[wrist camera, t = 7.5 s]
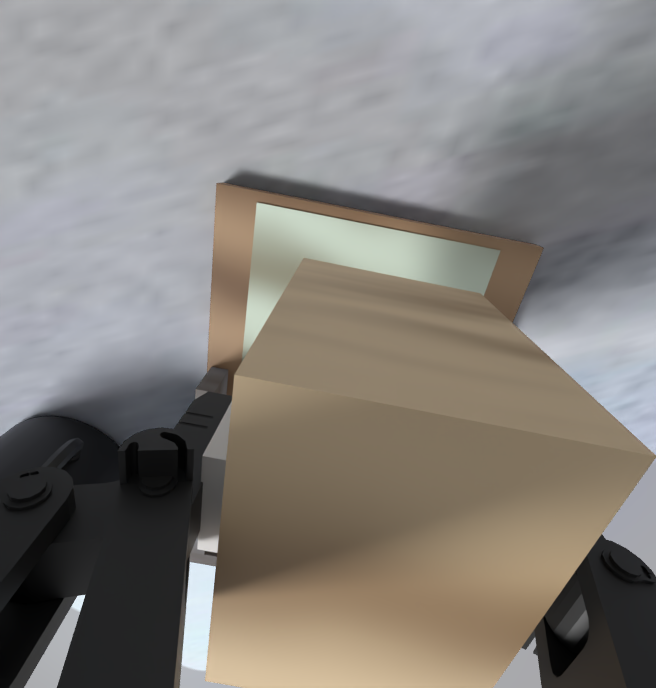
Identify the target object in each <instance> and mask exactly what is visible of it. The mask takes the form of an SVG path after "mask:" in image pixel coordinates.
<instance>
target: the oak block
mask: <svg viewBox="0 0 656 688" xmlns="http://www.w3.org/2000/svg"><path fill="white" fill-rule="evenodd" d="M655 458H656V455H655V454H654V453H653V452H651V451H650V450H649V449H648V448H647V447H646V446H645V445H644V444H643V443H642V442H641V441H640V440H638V439H637V438H636V437H635V436H634V435H633V434H632V433H631V432H630V431H629V430H628V429H627V428H626V427H624V426H623V425H622V424H621V423H620V422H619V421H618V420H617V419H616V418H615V417H614V416H613V415H611V414H610V413H609V412H608V411H607V410H606V409H605V408H604V407H603V406H602V405H601V404H600V403H598V402H597V401H596V400H595V399H594V398H593V397H592V396H591V395H590V394H589V393H588V392H587V391H586V390H584V389H583V388H582V387H581V386H580V385H579V384H578V383H577V382H576V381H575V380H574V379H573V378H571V377H570V376H569V375H568V374H567V373H566V372H565V371H564V370H563V369H562V368H561V367H560V366H559V365H557V364H556V363H555V362H554V361H553V360H552V359H551V358H550V357H549V356H548V355H547V354H546V353H544V352H543V351H542V350H541V349H540V348H539V347H538V346H537V345H536V344H535V343H534V342H533V341H531V340H530V339H529V338H528V337H527V336H526V335H525V334H524V333H523V332H522V331H521V330H520V329H519V328H517V327H516V326H515V325H514V324H513V323H512V322H511V321H510V320H509V319H508V318H507V317H506V316H504V315H503V314H502V313H501V312H500V311H499V310H498V309H497V308H496V307H495V306H494V305H493V304H491V303H490V302H489V301H488V300H487V299H486V298H485V297H484V296H483V295H482V294H481V293H477V292H472V291H467V290H462V289H457V288H452V287H447V286H442V285H437V284H432V283H427V282H422V281H417V280H412V279H407V278H402V277H397V276H392V275H387V274H382V273H377V272H372V271H367V270H362V269H358V268H353V267H348V266H343V265H338V264H333V263H328V262H323V261H318V260H313V259H308V258H303V260H302V261H301V263H300V265H299V267H298V268H297V270H296V272H295V273H294V275H293V277H292V278H291V280H290V282H289V283H288V285H287V287H286V288H285V290H284V292H283V293H282V295H281V297H280V299H279V300H278V302H277V304H276V305H275V307H274V309H273V310H272V312H271V314H270V315H269V317H268V319H267V320H266V322H265V324H264V326H263V327H262V329H261V331H260V332H259V334H258V336H257V337H256V339H255V341H254V342H253V344H252V346H251V347H250V349H249V351H248V352H247V354H246V356H245V358H244V359H243V361H242V363H241V364H240V366H239V368H238V369H237V371H236V373H235V374H234V384H233V394H232V405H231V415H230V426H229V436H228V447H227V457H226V468H225V478H224V488H223V499H222V509H221V520H220V530H219V541H218V551H217V562H216V572H215V583H214V593H213V603H212V614H211V624H210V635H209V645H208V656H207V666H206V677H205V681H208V682H214V683H220V684H225V685H231V686H237V687H242V688H493V687H494V685H495V684H496V683H497V681H498V680H499V678H500V677H501V676H502V674H503V673H504V671H505V670H506V669H507V667H508V666H509V664H510V663H511V661H512V660H513V659H514V657H515V656H516V654H517V653H518V652H519V650H520V648H521V647H522V646H523V645H524V643H525V642H526V640H527V639H528V637H529V636H530V635H531V633H532V632H533V630H534V629H535V628H536V626H537V625H538V623H539V622H540V621H541V619H542V618H543V616H544V615H545V613H546V612H547V611H548V609H549V608H550V606H551V605H552V604H553V602H554V601H555V599H556V598H557V597H558V595H559V594H560V592H561V591H562V589H563V588H564V587H565V585H566V584H567V582H568V581H569V580H570V578H571V577H572V575H573V574H574V572H575V571H576V570H577V568H578V567H579V565H580V564H581V563H582V561H583V560H584V558H585V557H586V556H587V554H588V553H589V551H590V550H591V548H592V547H593V546H594V544H595V543H596V541H597V540H598V539H599V537H600V536H601V534H602V533H603V532H604V530H605V529H606V527H607V526H608V524H609V523H610V522H611V520H612V519H613V517H614V516H615V514H616V513H617V512H618V510H619V509H620V507H621V506H622V505H623V503H624V502H625V500H626V499H627V498H628V496H629V495H630V493H631V492H632V491H633V489H634V488H635V486H636V485H637V483H638V482H639V481H640V479H641V478H642V476H643V475H644V474H645V472H646V471H647V469H648V468H649V467H650V465H651V464H652V462H653V461H654V459H655Z"/></svg>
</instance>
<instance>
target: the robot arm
mask: <svg viewBox="0 0 656 688" xmlns="http://www.w3.org/2000/svg"><path fill="white" fill-rule="evenodd" d="M231 405H232V396H230V395H225V394H219V393H214V392H209V391H208V392H206V393H205V394H203V395H201V396H200V397H198V398H197V399H195V400H194V401H193V402H192V404H191V405H190V407H189V408H188V409H187V411H186V414H184V415H183V416H182V418H181V419H180V421H179V424H177V425H176V426H175V428H174V429H169V428H155V429H148V430H145V431H142V432H139V433H137V434H134V435H133V436H131V437H130V438H128V439H127V440H126V441H124V442H123V444H122V445H121V447H120V448H119V450H118V464H119V479H120V480H119V481H115V482H109V483H100V484H86V485H73V480H72V477H71V476H70V475H69V474H68V473H67V472H66V471H65V470H62V469H59V468H55V467H36V468H31V469H27V470H22V471H19V472H17V473H15V474H13V475H10V476H8V477H6V478H4V479H2V480H1V481H0V688H24V686H25V685H26V683H27V681H28V679H29V678H30V676H31V674H32V673H33V671H34V669H35V668H36V666H37V664H38V662H39V661H40V659H41V657H42V655H43V654H44V652H45V650H46V649H47V647H48V645H49V643H50V641H51V640H52V638H53V637H54V635H55V633H56V632H57V630H58V628H59V626H60V625H61V623H62V621H63V619H64V618H65V616H66V614H67V613H68V611H69V609H70V608H71V606H72V604H73V602H74V601H75V599H76V597H77V596H79V595H85V594H86V595H85V599H84V602H83V605H82V608H81V612H80V615H79V618H78V621H77V625H76V628H75V631H74V634H73V637H72V641H71V644H70V647H69V651H68V654H67V657H66V660H65V663H64V666H63V670H62V673H61V676H60V680H59V683H58V686H57V688H179V686H180V674H181V662H182V650H183V638H184V626H185V614H186V602H187V589H188V577H189V564H190V553H191V551H192V548H193V546H194V544H195V541H196V539H197V537H198V546H197V549H199V550H204V551H210V552H215V553H217V551H218V541H219V530H220V520H221V509H222V499H223V488H224V478H225V468H226V457H227V447H228V436H229V426H230V415H231ZM534 637H536V645H537V646H536V648H535V650H534V652H533V653H534V654H536V655H538V661H539V669H540V677H541V685H542V688H656V576H655V575H654V573H653V572H652V570H651V569H650V568H649V567H648V566H647V565H646V564H645V563H644V562H643V561H642V560H641V559H640V558H638V557H637V556H636V555H634V554H633V553H632V552H630V551H629V550H627V549H626V548H624V547H622V546H620V545H618V544H616V543H614V542H613V541H609V540H606V539H605V538H604V536H603V535H602V534H601V536H600V537H599V539H598V540H597V541H596V543H595V544H594V546H593V547H592V548H591V550H590V551H589V553H588V554H587V556H586V557H585V558H584V560H583V561H582V563H581V564H580V565H579V567H578V568H577V570H576V571H575V572H574V574H573V575H572V577H571V578H570V580H569V581H568V582H567V584H566V585H565V587H564V588H563V589H562V591H561V592H560V594H559V595H558V597H557V598H556V599H555V601H554V602H553V604H552V605H551V606H550V608H549V609H548V611H547V612H546V613H545V615H544V616H543V618H542V619H541V621H540V622H539V623H538V625H537V626H536V628H535V629H534V630H533V632H532V633H531V635H530V636H529V637H528V639H527V640H526V642H525V643H524V645H523V646H522V647H521V648H524V649H527V647H528V646H529V644H530V643H531V642H532V640H533V639H534Z"/></svg>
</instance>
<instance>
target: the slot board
mask: <svg viewBox="0 0 656 688" xmlns="http://www.w3.org/2000/svg"><path fill="white" fill-rule="evenodd" d="M543 249H544V248H543V247H540V246H538V245H535V244H531V243H526V242H520V241H515V240H510V239H505V238H500V237H495V236H490V235H485V234H480V233H475V232H470V231H465V230H460V229H455V228H450V227H445V226H440V225H435V224H430V223H425V222H420V221H415V220H409V219H404V218H399V217H394V216H389V215H384V214H379V213H374V212H369V211H364V210H359V209H354V208H349V207H344V206H339V205H334V204H329V203H324V202H319V201H314V200H309V199H304V198H298V197H293V196H288V195H283V194H278V193H273V192H268V191H263V190H258V189H253V188H248V187H243V186H238V185H233V184H228V183H217V185H216V205H215V224H214V244H213V264H212V283H211V303H210V323H209V343H208V362H207V374H206V375H205V377H204V378H203V379H202V381H201V382H200V384H199V385H198V386H197V388H196V389H195V399H197V398H198V397H200V396H201V395H203V394H205V393H206V392H208V391H209V392H214V393H219V394H225V395H230V396H232V394H233V384H234V374H235V373H236V371H237V369H238V368H239V366H240V364H241V363H242V361H243V359H244V358H245V356H246V354H247V352H248V351H249V349H250V347H251V346H252V344H253V342H254V341H255V339H256V337H257V336H258V334H259V332H260V331H261V329H262V327H263V326H264V324H265V322H266V320H267V319H268V317H269V315H270V314H271V312H272V310H273V309H274V307H275V305H276V304H277V302H278V300H279V299H280V297H281V295H282V293H283V292H284V290H285V288H286V287H287V285H288V283H289V282H290V280H291V278H292V277H293V275H294V273H295V272H296V270H297V268H298V267H299V265H300V263H301V261H302V260H303V258H308V259H313V260H318V261H323V262H328V263H333V264H338V265H343V266H348V267H353V268H358V269H362V270H367V271H372V272H377V273H382V274H387V275H392V276H397V277H402V278H407V279H412V280H417V281H422V282H427V283H432V284H437V285H442V286H447V287H452V288H457V289H462V290H467V291H472V292H477V293H481V294H482V295H483V296H484V297H485V298H486V299H487V300H488V301H489V302H490V303H491V304H493V305H494V306H495V307H496V308H497V309H498V310H499V311H500V312H501V313H502V314H503V315H504V316H506V317H507V318H508V319H509V320H510V321H511V322H513V320H514V318H515V315H516V313H517V311H518V308H519V306H520V303H521V301H522V299H523V296H524V294H525V291H526V289H527V287H528V284H529V282H530V280H531V277H532V275H533V272H534V270H535V268H536V265H537V263H538V261H539V258H540V256H541V253H542V251H543ZM197 546H198V537H197V539H196V541H195V544H194V546H193V548H192V551H191V553H190V562H194V563H200V564H205V565H211V566H216V562H217V553H215V552H210V551H204V550H199V549H197Z"/></svg>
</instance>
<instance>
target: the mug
mask: <svg viewBox="0 0 656 688" xmlns="http://www.w3.org/2000/svg"><path fill="white" fill-rule="evenodd" d="M118 450H119V447H118V446H117V445H116V444H115V443H114V442H113V441H112V440H111V439H110V438H108V437H107V436H106V435H104V434H103V433H101V432H100V431H98V430H97V429H95V428H93V427H91V426H89V425H87V424H84V423H82V422H79V421H77V420H73V419H69V418H64V417H57V416H43V417H36V418H32V419H29V420H26V421H23V422H21V423H19V424H17V425H15V426H14V427H12V428H11V429H10V430H8V431H7V432H6V433H4V434H3V435H2V436H0V481H1V480H2V479H4V478H6V477H8V476H10V475H13V474H15V473H17V472H19V471H22V470H27V469H31V468H36V467H55V468H59V469H62V470H65V471H66V472H67V473H68V474H69V475H70V476H71V477H72V480H73V485H86V484H100V483H109V482H115V481H119V480H120V479H119V464H118Z"/></svg>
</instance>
